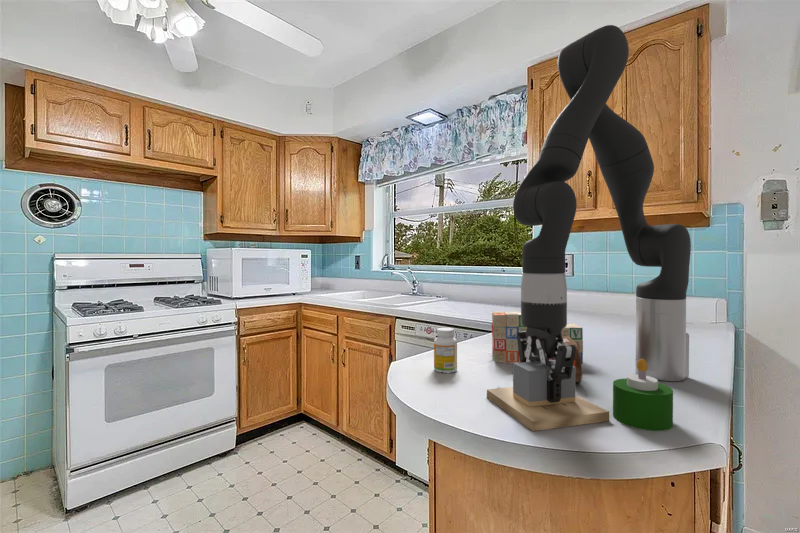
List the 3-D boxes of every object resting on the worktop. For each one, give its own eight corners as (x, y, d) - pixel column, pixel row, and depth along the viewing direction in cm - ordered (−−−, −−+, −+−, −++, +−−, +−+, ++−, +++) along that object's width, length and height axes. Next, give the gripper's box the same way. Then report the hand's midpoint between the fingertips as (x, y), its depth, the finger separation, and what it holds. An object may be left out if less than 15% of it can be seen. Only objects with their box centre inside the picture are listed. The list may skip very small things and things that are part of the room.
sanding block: (513, 396, 70) (513, 363, 70) (556, 392, 72) (557, 359, 72) (528, 406, 65) (529, 371, 65) (575, 401, 68) (575, 367, 67)
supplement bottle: (441, 365, 96) (441, 326, 96) (461, 369, 93) (461, 328, 93) (429, 371, 92) (429, 329, 92) (450, 374, 89) (450, 332, 89)
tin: (583, 388, 79) (583, 346, 79) (566, 387, 80) (567, 346, 80) (567, 367, 94) (567, 332, 94) (553, 367, 95) (553, 332, 94)
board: (551, 390, 78) (551, 382, 78) (609, 420, 63) (609, 411, 63) (486, 397, 74) (486, 389, 74) (532, 431, 60) (532, 421, 60)
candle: (686, 428, 61) (686, 363, 60) (640, 433, 59) (641, 367, 59) (642, 408, 69) (643, 351, 69) (601, 412, 67) (601, 354, 67)
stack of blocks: (576, 359, 102) (576, 311, 102) (583, 365, 96) (583, 315, 96) (491, 356, 106) (491, 310, 105) (493, 362, 100) (493, 313, 99)
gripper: (591, 302, 62) (591, 409, 63) (538, 294, 76) (538, 381, 77) (550, 304, 61) (550, 414, 61) (503, 296, 74) (503, 385, 75)
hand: (543, 395), depth 69 cm, fingers closed on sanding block, 5 cm apart
